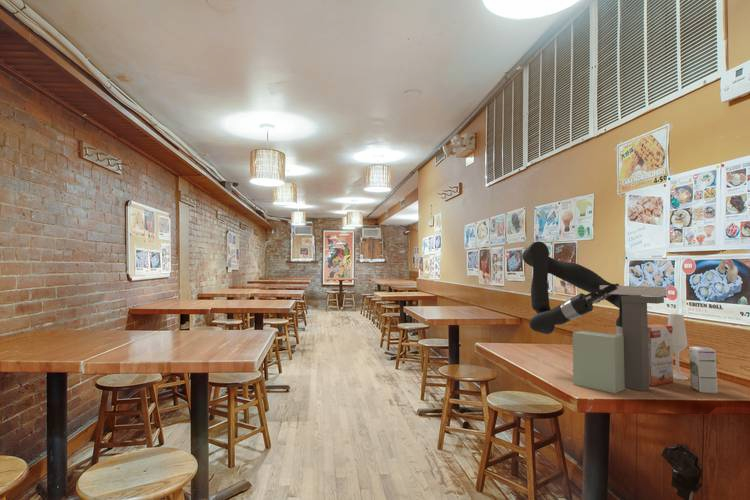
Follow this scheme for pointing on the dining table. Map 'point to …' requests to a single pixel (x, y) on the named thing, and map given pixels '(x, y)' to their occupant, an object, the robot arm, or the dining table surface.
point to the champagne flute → (678, 340)
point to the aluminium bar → (637, 290)
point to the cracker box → (660, 354)
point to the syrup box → (703, 369)
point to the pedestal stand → (636, 340)
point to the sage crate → (598, 361)
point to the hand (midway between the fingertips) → (617, 285)
